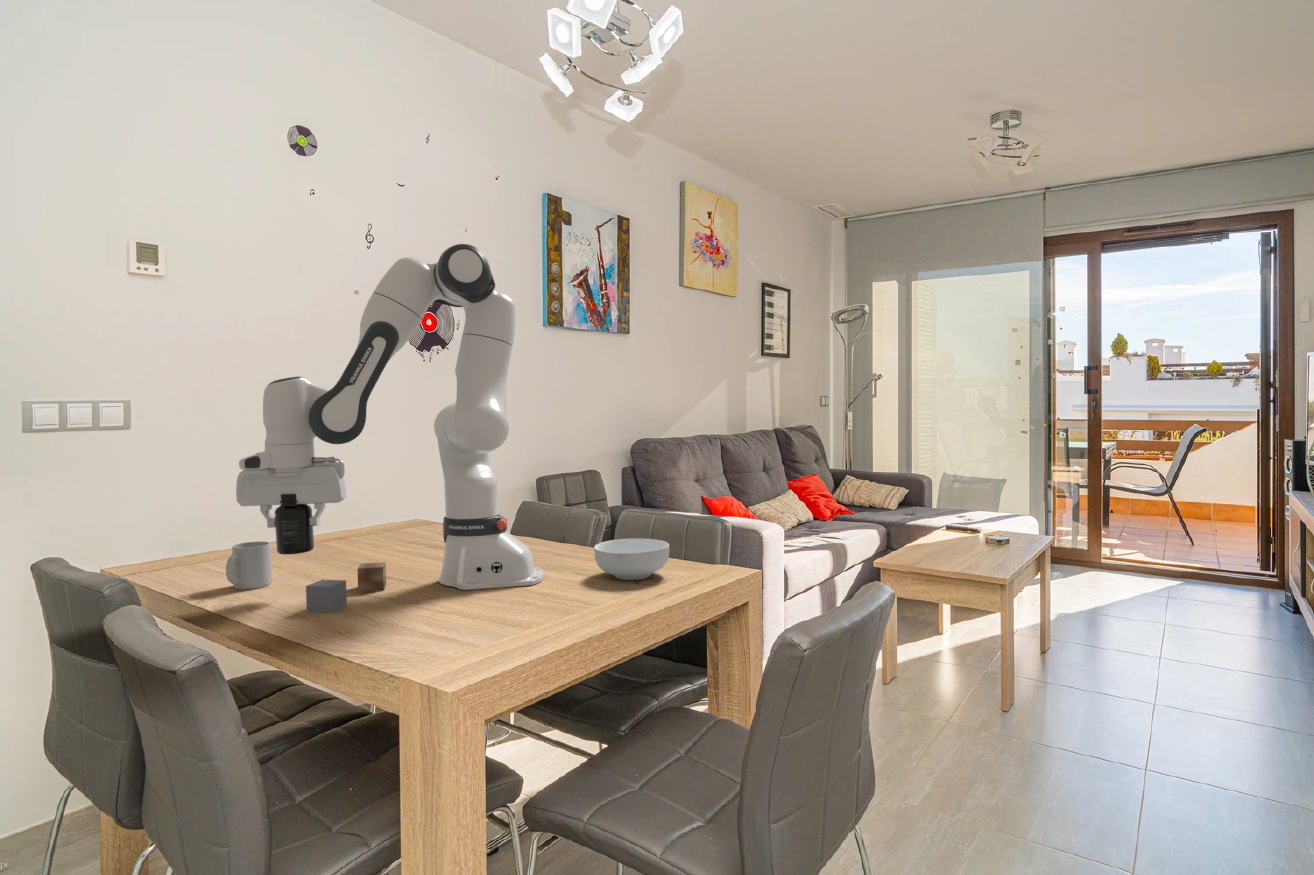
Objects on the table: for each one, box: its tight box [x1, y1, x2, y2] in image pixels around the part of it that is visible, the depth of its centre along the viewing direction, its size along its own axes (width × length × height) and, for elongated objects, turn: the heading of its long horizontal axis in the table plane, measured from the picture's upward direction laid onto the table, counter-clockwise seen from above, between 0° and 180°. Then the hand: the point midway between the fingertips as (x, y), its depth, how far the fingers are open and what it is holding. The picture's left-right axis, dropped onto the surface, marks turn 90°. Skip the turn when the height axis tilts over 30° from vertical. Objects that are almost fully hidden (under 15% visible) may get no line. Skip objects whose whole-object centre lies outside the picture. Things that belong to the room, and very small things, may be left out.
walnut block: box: [357, 561, 387, 593], centre depth 155 cm, size 5×5×5 cm
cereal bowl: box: [593, 538, 670, 581], centre depth 165 cm, size 17×17×7 cm
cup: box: [225, 541, 273, 591], centre depth 157 cm, size 7×10×9 cm
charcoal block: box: [305, 579, 348, 614], centre depth 140 cm, size 5×5×5 cm
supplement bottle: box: [274, 494, 315, 556], centre depth 149 cm, size 7×7×12 cm
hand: (294, 526), depth 149 cm, fingers closed on supplement bottle, 7 cm apart
